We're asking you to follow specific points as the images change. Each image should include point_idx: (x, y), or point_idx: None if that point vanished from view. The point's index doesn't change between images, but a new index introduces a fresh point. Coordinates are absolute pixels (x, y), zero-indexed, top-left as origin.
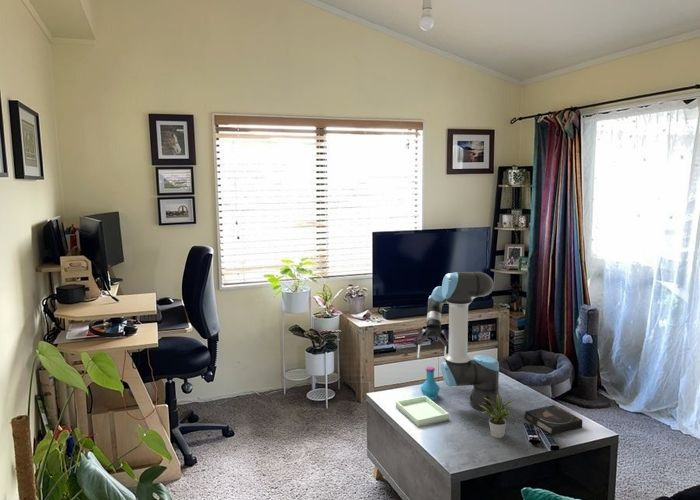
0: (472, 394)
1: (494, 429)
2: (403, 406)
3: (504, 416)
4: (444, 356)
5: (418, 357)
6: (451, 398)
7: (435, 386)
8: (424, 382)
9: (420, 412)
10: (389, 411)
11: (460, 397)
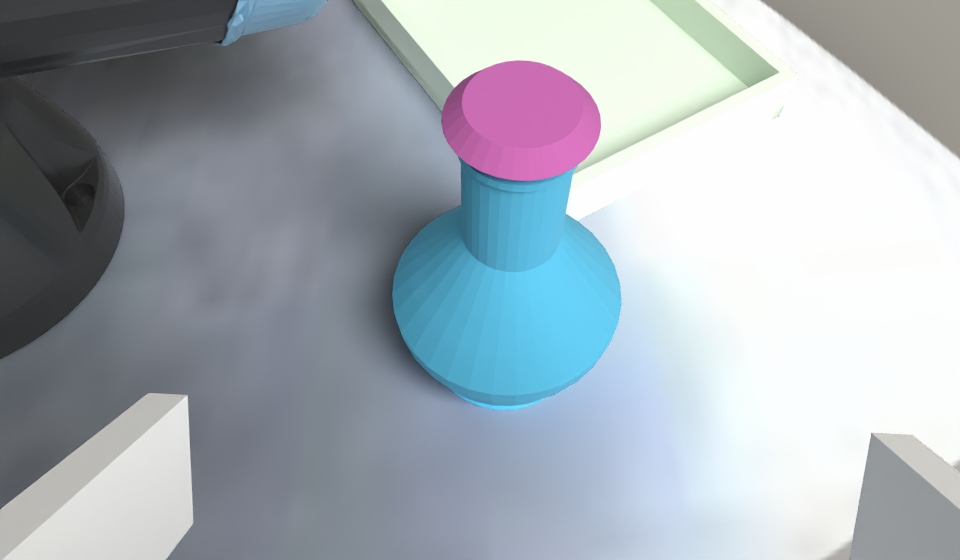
0: (51, 135)
1: None
2: (717, 101)
3: None
4: (163, 409)
5: (873, 511)
6: (276, 327)
7: (441, 220)
8: (584, 253)
9: (563, 37)
10: (804, 60)
11: (172, 361)
